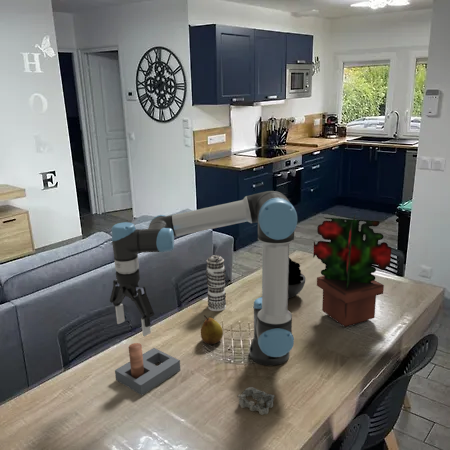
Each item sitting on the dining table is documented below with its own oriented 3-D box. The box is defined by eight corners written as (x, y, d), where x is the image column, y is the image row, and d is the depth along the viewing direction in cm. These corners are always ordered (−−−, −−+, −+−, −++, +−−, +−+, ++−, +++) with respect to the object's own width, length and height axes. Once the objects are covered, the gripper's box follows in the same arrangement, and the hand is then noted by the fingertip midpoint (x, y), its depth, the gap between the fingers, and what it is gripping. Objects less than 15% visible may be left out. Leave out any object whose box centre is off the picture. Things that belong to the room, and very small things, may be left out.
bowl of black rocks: (311, 293, 224) (312, 257, 219) (294, 309, 208) (295, 271, 203) (274, 284, 235) (275, 250, 229) (256, 300, 219) (255, 263, 213)
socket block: (180, 370, 166) (179, 360, 165) (141, 395, 152) (140, 385, 151) (154, 356, 174) (153, 347, 173) (115, 379, 161) (114, 370, 160)
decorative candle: (229, 303, 216) (228, 254, 208) (223, 312, 207) (221, 261, 200) (211, 301, 219) (209, 252, 211) (204, 310, 210) (202, 259, 203)
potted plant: (343, 335, 185) (348, 230, 172) (311, 313, 204) (314, 216, 192) (385, 323, 193) (393, 222, 181) (351, 302, 213) (356, 209, 200)
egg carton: (235, 406, 146) (235, 395, 145) (248, 393, 152) (247, 383, 151) (264, 418, 141) (264, 407, 139) (276, 404, 147) (276, 393, 145)
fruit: (226, 337, 186) (225, 311, 183) (216, 349, 179) (215, 321, 175) (207, 333, 190) (206, 307, 187) (197, 344, 182) (195, 317, 179)
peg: (147, 380, 160) (144, 345, 156) (137, 387, 157) (134, 351, 153) (139, 376, 163) (135, 341, 159) (129, 382, 160) (125, 347, 156)
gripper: (94, 265, 153) (102, 322, 159) (143, 282, 137) (149, 344, 143) (113, 258, 158) (119, 313, 165) (161, 274, 143) (167, 334, 149)
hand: (133, 328), depth 154 cm, fingers open, 13 cm apart
